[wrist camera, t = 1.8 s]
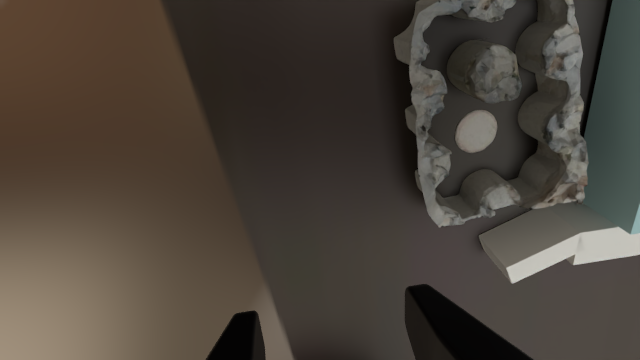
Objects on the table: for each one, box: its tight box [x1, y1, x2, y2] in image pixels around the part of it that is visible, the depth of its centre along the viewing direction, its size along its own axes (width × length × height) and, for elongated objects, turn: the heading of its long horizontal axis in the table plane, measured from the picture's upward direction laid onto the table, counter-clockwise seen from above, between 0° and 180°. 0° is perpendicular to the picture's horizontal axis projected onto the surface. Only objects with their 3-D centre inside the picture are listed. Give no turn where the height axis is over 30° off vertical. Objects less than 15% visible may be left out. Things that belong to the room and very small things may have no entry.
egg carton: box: [394, 0, 589, 227], centre depth 18 cm, size 11×8×4 cm
